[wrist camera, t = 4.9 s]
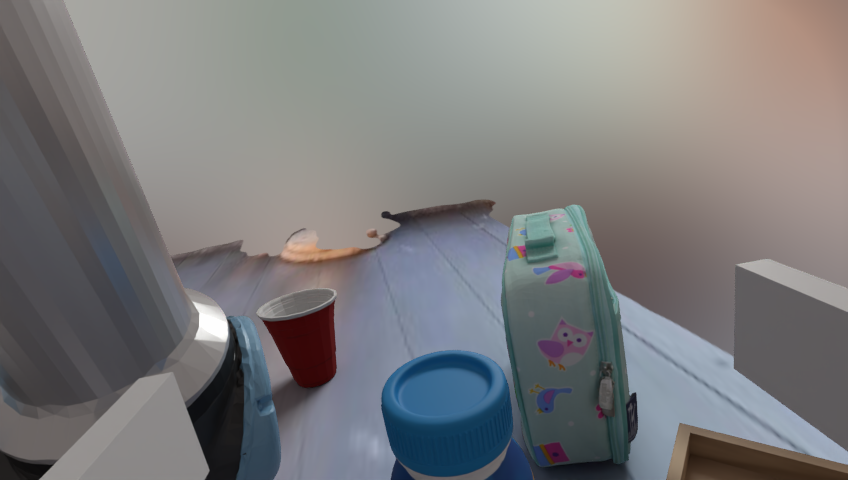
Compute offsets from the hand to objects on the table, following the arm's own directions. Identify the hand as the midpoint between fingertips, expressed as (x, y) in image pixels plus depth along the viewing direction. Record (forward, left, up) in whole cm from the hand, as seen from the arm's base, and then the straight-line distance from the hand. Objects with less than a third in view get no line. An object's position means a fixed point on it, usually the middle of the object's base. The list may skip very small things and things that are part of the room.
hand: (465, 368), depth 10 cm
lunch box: (+33, +11, -28) cm, 45 cm away
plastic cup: (+25, +45, -28) cm, 58 cm away
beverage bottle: (+8, +8, -28) cm, 30 cm away
